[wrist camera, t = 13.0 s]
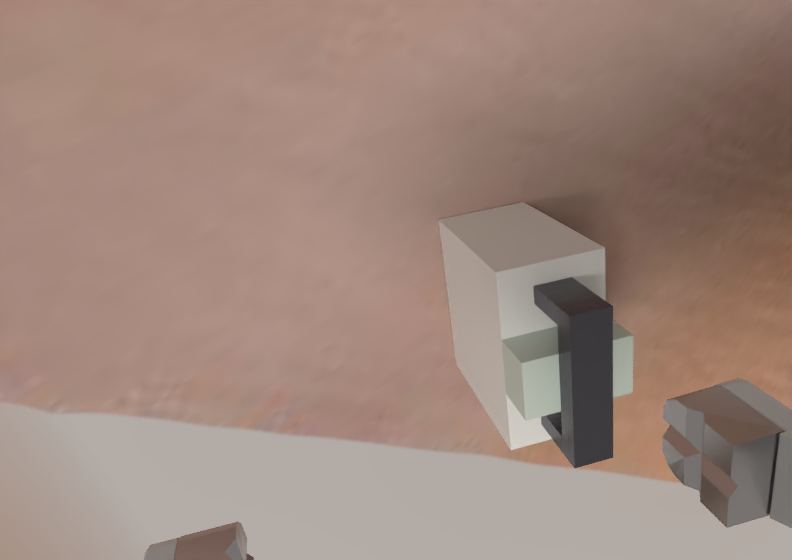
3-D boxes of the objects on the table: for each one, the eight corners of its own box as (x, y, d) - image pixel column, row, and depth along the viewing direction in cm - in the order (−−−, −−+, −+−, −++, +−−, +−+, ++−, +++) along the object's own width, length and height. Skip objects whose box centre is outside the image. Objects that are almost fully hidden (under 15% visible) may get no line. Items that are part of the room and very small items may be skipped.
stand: (438, 219, 45) (516, 291, 31) (523, 201, 46) (634, 264, 32) (456, 363, 50) (529, 479, 36) (532, 344, 51) (631, 451, 37)
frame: (533, 286, 35) (569, 316, 31) (571, 277, 35) (612, 306, 31) (541, 424, 39) (574, 468, 35) (576, 415, 39) (613, 457, 35)
